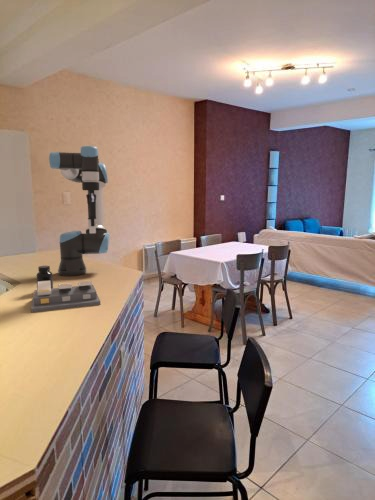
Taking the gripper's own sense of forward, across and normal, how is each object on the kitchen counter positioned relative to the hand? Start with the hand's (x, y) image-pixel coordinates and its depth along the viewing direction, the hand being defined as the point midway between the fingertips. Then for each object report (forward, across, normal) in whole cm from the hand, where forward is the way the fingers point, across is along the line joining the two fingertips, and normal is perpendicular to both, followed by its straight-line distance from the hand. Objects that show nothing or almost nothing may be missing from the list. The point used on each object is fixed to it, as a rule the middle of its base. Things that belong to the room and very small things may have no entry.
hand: (92, 233), depth 163 cm
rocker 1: (+20, +16, -22) cm, 34 cm away
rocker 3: (+20, +16, -6) cm, 26 cm away
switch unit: (+26, +18, -14) cm, 35 cm away
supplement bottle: (+27, -1, -22) cm, 35 cm away
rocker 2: (+20, +16, -14) cm, 29 cm away
